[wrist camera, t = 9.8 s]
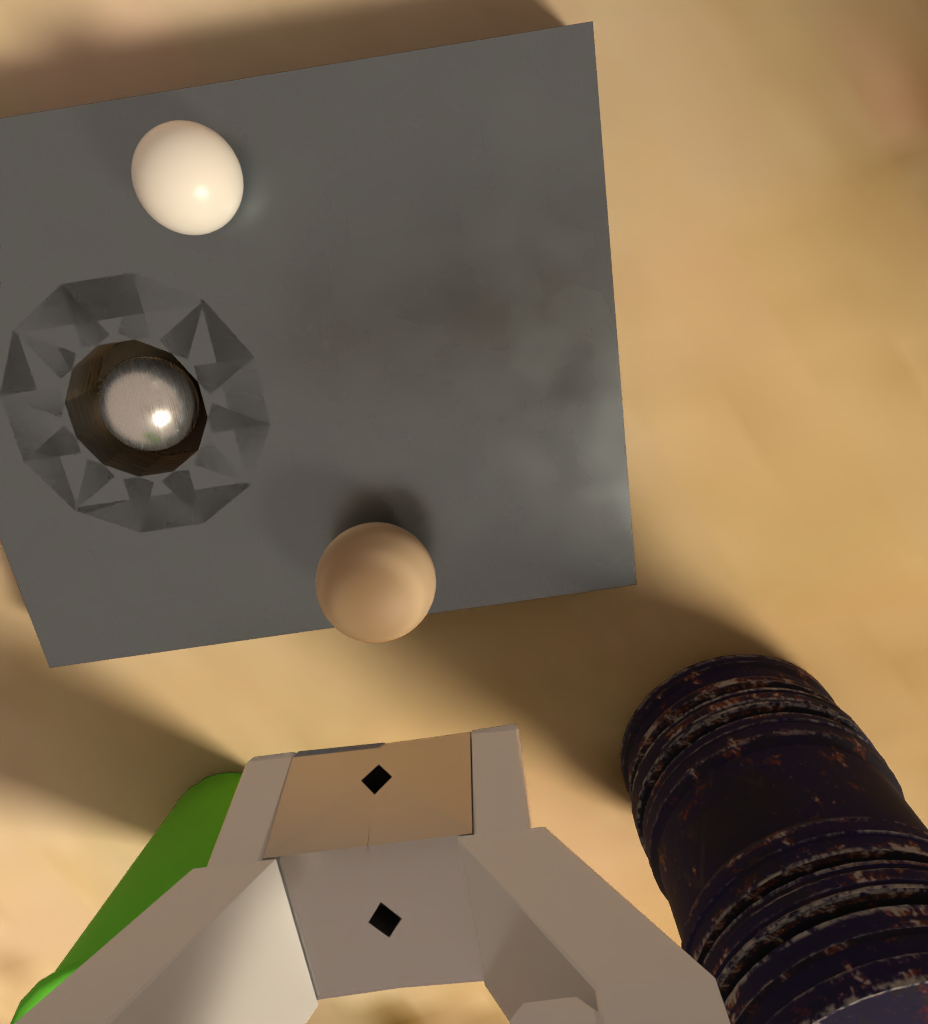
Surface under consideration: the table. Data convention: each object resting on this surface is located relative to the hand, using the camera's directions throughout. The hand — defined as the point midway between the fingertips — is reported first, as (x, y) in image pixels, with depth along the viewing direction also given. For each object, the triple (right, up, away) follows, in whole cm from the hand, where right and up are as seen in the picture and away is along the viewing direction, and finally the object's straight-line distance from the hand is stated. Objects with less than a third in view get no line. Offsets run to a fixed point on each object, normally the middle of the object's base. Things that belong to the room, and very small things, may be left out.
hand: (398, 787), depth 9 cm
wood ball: (-2, +1, +18) cm, 18 cm away
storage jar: (+12, -7, +26) cm, 30 cm away
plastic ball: (-7, +13, +14) cm, 20 cm away
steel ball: (-10, +7, +18) cm, 22 cm away
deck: (-5, +8, +20) cm, 22 cm away
